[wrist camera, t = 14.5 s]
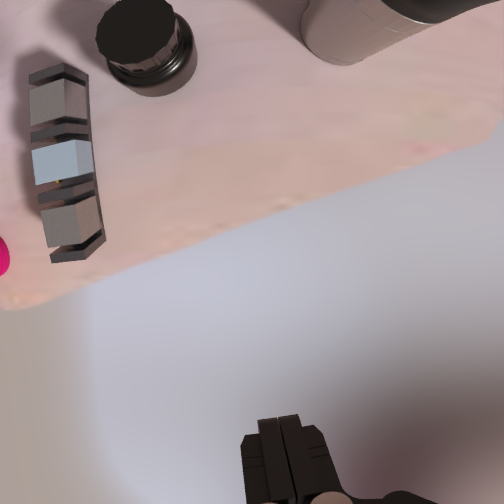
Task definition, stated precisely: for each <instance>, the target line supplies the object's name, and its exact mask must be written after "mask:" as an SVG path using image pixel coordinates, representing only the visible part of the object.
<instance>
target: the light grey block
mask: <svg viewBox="0 0 504 504" xmlns="http://www.w3.org/2000/svg"><path fill="white" fill-rule="evenodd" d="M32 159H33V168H34V176H35V183H36V185H39V184H44V183H48V182H52V181H56V180H61V179H65V178H70V177H75V176H79V175H83V174H87V173H90V172H94V166H93V157H92V148H91V142H89V141H81V140H71V141H67V142H62V143H58V144H54V145H50V146H46V147H42V148H39V149H35V150H32Z"/></svg>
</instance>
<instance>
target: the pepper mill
mask: <svg viewBox="0 0 504 504" xmlns="http://www.w3.org/2000/svg"><path fill="white" fill-rule="evenodd" d="M9 262H10V257H9V251H8V249H7V246H6V244H5V242H4V241H3V240H2V239H1V238H0V276H1V275H3V274H4V273H5V272H6V271H7V269H8V267H9Z"/></svg>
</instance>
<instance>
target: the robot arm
mask: <svg viewBox="0 0 504 504" xmlns="http://www.w3.org/2000/svg"><path fill="white" fill-rule="evenodd" d="M496 1H500V0H309V1H308V2H309V6H308V8H307V9H306V10H305V12H304V13H303V16H302V18H301V22H300V31H301V35H302V38H303V40H304V42H305V44H306V45H307V47H308V48H309V49H310V50H311V51H312V53H314V54H315V55H316V56H317V57H319V58H320V59H322V60H324V61H326V62H328V63H331V64H335V65H341V66H342V65H351V64H355V63H357V62H359V61H362V60H364V59H365V58H367V57H369V56H371V55H373V54H375V53H377V52H379V51H381V50H383V49H385V48H387V47H389V46H391V45H393V44H395V43H397V42H399V41H401V40H403V39H406V38H408V37H410V36H412V35H414V34H416V33H419V32H421V31H423V30H425V29H427V28H430V27H432V26H434V25H437V24H439V23H441V22H443V21H446V20H448V19H450V18H452V17H455V16H457V15H459V14H461V13H464V12H466V11H468V10H471V9H473V8H476V7H479V6H482V5H485V4H489V3H492V2H496ZM258 431H259V434H250V435H245V436H244V439H243V441H242V444H241V446H240V447H241V456H242V465H243V475H244V483H245V493H246V502H247V504H437V503H435V502H432V501H430V500H427V499H424V498H422V497H420V496H417V495H415V494H412V493H410V492H406V491H395V492H391V493H389V494H388V495H386V496H385V497H384V498H383V499H357V498H354V497H352V496H350V495H348V494H347V493H346V492H345V491H344V490H343V489H342V487H341V484H340V481H339V478H338V475H337V473H336V470H335V467H334V464H333V461H332V459H331V456H330V453H329V450H328V447H327V445H326V442H325V439H324V436H323V434H322V433H321V432H320V431H319V430H318V429H317V428H316V427H315V426H314V425H310V426H304V427H302V426H301V422H300V419H299V416H298V414H295V415H289V416H282V417H278V419H277V418H269V419H261V420H258Z"/></svg>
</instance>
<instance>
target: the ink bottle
mask: <svg viewBox="0 0 504 504" xmlns="http://www.w3.org/2000/svg"><path fill="white" fill-rule="evenodd" d="M95 39H96V42H97V45H98V48H99V52H100V53H101V54H103V55H104V56H105V57H106V61H107V65H108V68H109V70H110V72H111V74H112V75H113V76H114V78H115V79H116V80H117V81H118V82H120V83H121V84H123V85H124V86H126V87H128V88H129V89H131V90H132V91H134V92H136V93H137V94H140V95H143V96H147V97H159V96H164V95H168V94H170V93H173V92H175V91H177V90H178V89H180V88H181V87H183V86H184V85H185V84H186V83H187V82H188V81H189V80H190V78H191V77H192V75H193V74H194V71H195V69H196V65H197V49H196V45H195V40H194V36H193V32H192V30H191V28H190V26H189V24H188V23H187V21H186V20H185V19H184V18H183V17H182V16H180V15H179V14H177V13H175V12H174V11H173V8H172V6H171V5H170V4H169V3H167V2H166V1H165V0H121V1H118V2H117V3H116V4H115V5H113V6H112V7H111V8H110V9H109V10H108V11H106V12H105V14H104V16H103V18H102V19H101V21H100V23H99V24H98V26H97V34H96V38H95Z"/></svg>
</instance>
